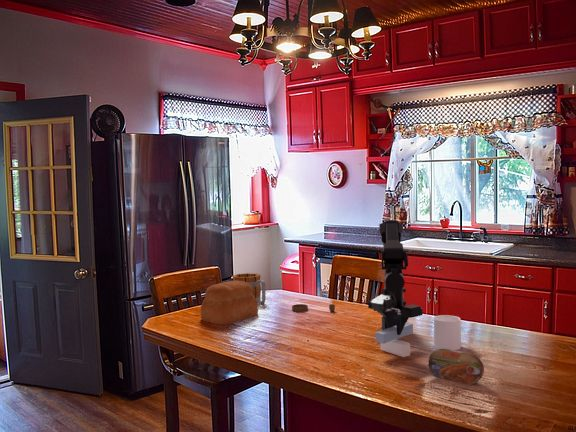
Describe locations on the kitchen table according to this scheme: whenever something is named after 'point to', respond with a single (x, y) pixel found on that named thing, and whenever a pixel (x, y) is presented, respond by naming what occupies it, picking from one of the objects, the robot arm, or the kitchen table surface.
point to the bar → (393, 333)
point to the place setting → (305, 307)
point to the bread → (228, 303)
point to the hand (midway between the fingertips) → (394, 333)
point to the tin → (456, 366)
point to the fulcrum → (397, 347)
